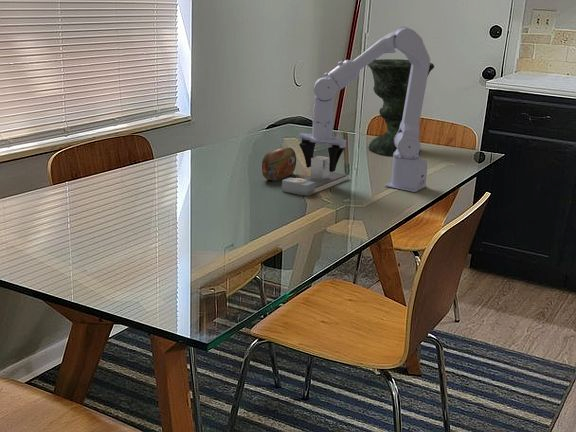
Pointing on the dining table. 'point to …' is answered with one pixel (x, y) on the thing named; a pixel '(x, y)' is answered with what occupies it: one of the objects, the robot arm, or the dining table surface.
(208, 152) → the dining table surface
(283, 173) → the tin
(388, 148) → the goblet
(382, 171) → the dining table surface
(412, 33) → the robot arm
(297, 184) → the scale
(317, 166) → the block
